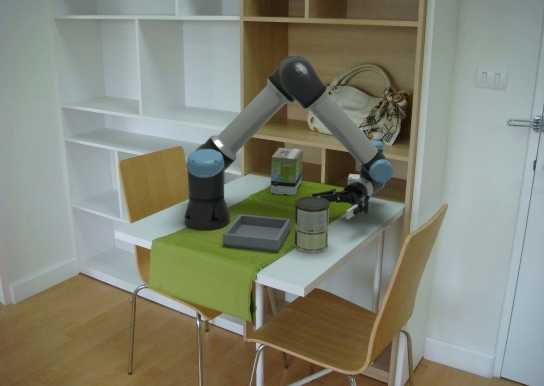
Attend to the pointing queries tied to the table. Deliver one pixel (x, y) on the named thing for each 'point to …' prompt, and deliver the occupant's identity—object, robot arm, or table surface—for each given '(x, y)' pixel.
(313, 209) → the coffee can
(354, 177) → the skincare box
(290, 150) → the tea box
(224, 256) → the table surface
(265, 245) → the grey square tray
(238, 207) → the table surface
